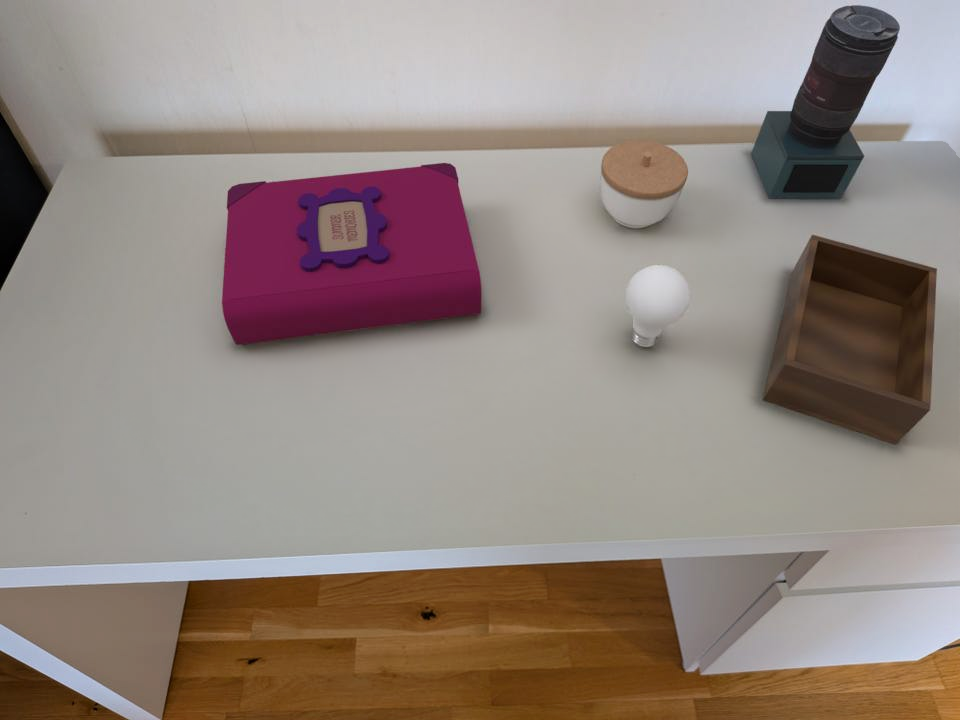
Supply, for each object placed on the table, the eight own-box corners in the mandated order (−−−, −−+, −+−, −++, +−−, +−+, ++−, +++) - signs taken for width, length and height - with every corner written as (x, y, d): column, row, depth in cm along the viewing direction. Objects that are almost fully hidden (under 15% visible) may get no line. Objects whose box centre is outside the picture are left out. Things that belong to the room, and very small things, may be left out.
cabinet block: (819, 153, 99) (839, 110, 93) (841, 199, 93) (865, 156, 87) (750, 153, 99) (767, 110, 93) (769, 199, 93) (787, 156, 87)
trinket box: (577, 205, 92) (586, 146, 84) (637, 177, 95) (651, 118, 88) (629, 252, 87) (644, 193, 79) (690, 221, 90) (710, 162, 83)
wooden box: (791, 273, 84) (812, 234, 79) (907, 307, 81) (937, 268, 76) (762, 400, 73) (784, 363, 68) (896, 444, 70) (930, 410, 65)
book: (482, 321, 80) (483, 276, 73) (237, 353, 76) (217, 309, 70) (455, 204, 92) (453, 157, 86) (243, 227, 89) (226, 180, 83)
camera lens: (770, 131, 90) (815, 19, 79) (804, 108, 94) (852, -4, 82) (824, 159, 87) (880, 46, 75) (857, 134, 90) (916, 22, 78)
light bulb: (602, 341, 78) (618, 274, 69) (637, 310, 81) (657, 242, 72) (648, 375, 75) (671, 309, 66) (683, 342, 78) (710, 274, 69)
